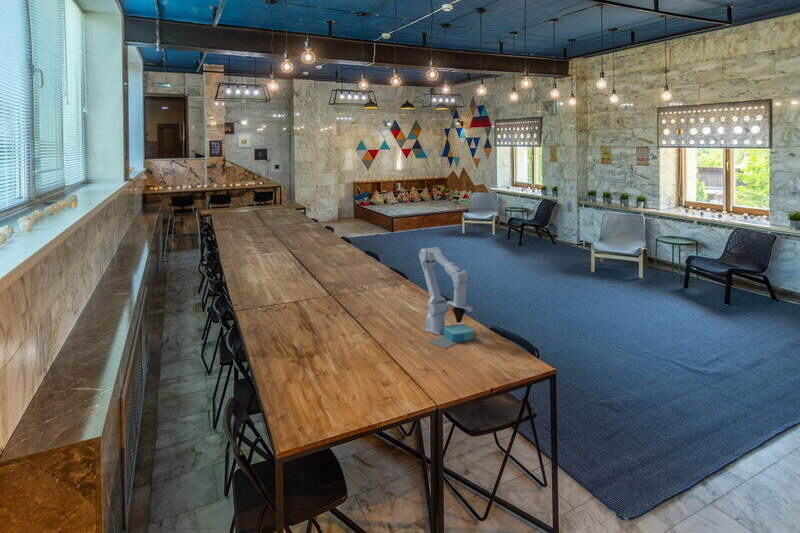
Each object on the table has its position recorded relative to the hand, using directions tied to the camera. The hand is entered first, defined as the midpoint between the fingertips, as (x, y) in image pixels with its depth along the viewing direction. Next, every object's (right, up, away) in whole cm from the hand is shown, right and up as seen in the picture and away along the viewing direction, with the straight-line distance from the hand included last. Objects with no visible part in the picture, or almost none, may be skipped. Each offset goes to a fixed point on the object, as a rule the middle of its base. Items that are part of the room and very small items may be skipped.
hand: (458, 322), depth 246 cm
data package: (+3, -8, 0) cm, 8 cm away
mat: (-3, -9, +5) cm, 11 cm away
